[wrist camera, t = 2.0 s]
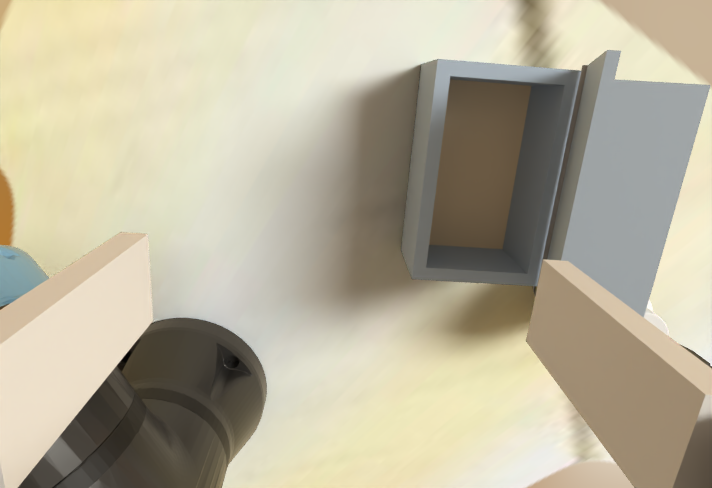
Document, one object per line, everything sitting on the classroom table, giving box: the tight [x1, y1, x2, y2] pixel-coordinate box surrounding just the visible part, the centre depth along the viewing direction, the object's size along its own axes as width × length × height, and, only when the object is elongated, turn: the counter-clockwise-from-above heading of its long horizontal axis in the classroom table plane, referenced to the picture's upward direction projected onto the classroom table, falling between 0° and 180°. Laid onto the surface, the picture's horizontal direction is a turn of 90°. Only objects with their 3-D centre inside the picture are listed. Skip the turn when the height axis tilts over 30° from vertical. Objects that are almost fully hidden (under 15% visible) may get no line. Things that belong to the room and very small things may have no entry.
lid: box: [536, 50, 710, 318], centre depth 29 cm, size 10×17×5 cm
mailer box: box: [401, 59, 581, 286], centre depth 38 cm, size 10×16×7 cm, turn 176°
